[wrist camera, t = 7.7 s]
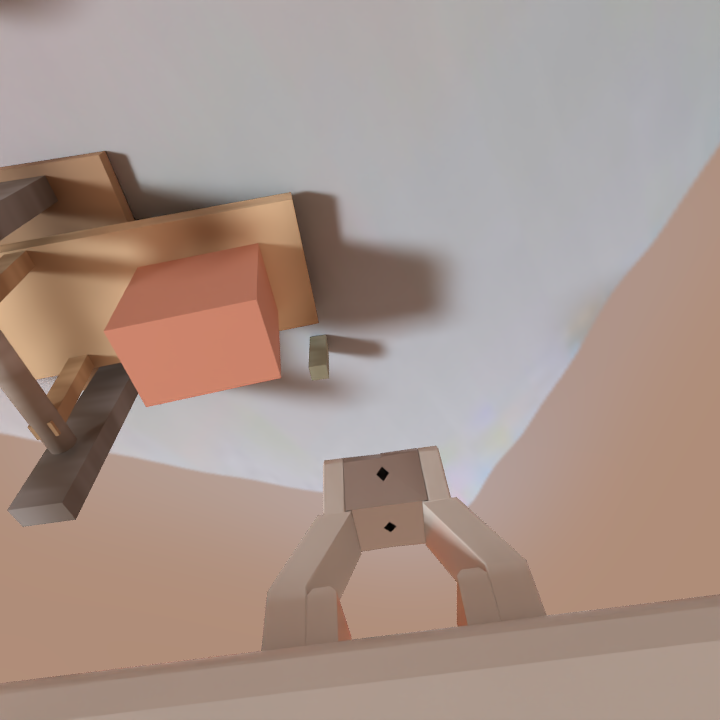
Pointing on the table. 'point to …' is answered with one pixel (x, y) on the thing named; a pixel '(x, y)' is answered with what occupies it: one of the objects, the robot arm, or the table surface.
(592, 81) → the table surface
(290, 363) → the table surface
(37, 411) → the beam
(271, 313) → the salmon red rectangular block
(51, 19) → the table surface
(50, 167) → the stand
